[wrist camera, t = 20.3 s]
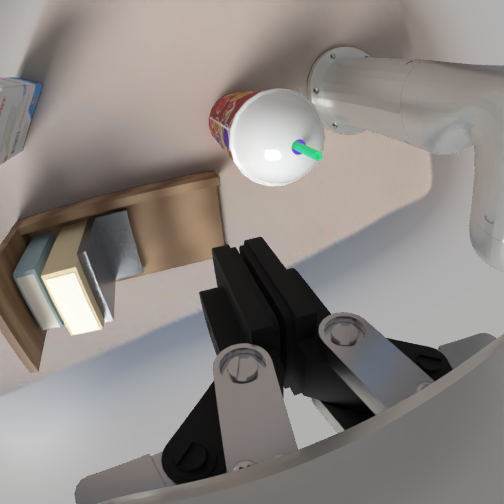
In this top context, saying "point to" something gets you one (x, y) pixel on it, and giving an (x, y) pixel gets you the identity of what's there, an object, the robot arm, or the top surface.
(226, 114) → the smoothie
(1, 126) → the ink box
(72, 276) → the tan book
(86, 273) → the bookend
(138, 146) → the top surface
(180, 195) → the shelf
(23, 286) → the teal book
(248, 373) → the robot arm
